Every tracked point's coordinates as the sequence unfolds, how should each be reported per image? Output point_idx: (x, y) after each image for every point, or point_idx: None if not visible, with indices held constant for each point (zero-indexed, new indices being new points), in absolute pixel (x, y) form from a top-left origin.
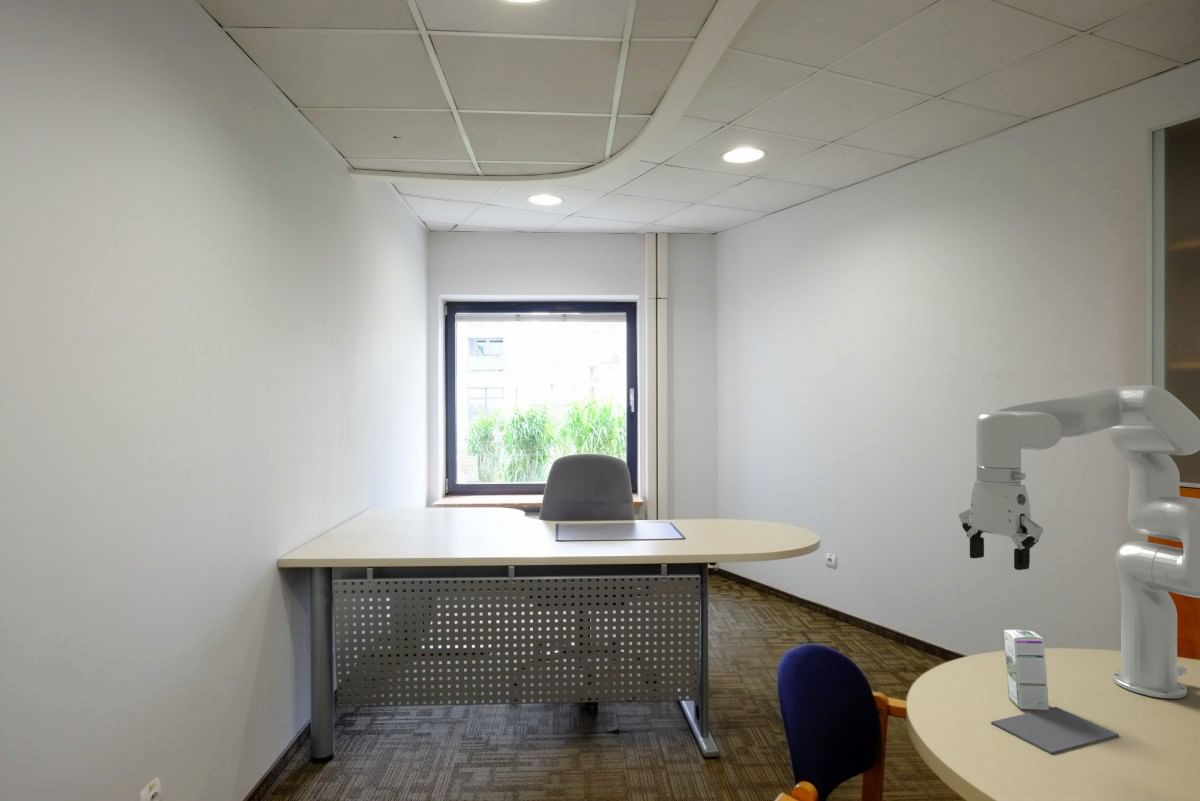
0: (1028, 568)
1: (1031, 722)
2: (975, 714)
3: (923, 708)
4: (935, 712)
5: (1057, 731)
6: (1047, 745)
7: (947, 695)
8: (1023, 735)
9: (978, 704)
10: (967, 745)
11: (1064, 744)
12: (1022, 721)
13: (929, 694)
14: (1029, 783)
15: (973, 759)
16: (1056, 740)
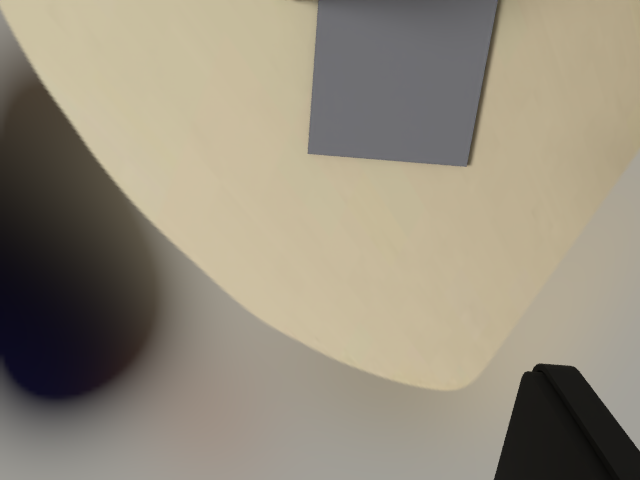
0: (565, 367)
1: (357, 57)
2: (255, 141)
3: (182, 230)
4: (209, 222)
5: (420, 44)
6: (445, 143)
7: (142, 106)
8: (389, 148)
9: (215, 76)
10: (350, 289)
11: (464, 99)
12: (342, 75)
13: (121, 147)
14: (497, 309)
15: (392, 324)
16: (444, 98)
